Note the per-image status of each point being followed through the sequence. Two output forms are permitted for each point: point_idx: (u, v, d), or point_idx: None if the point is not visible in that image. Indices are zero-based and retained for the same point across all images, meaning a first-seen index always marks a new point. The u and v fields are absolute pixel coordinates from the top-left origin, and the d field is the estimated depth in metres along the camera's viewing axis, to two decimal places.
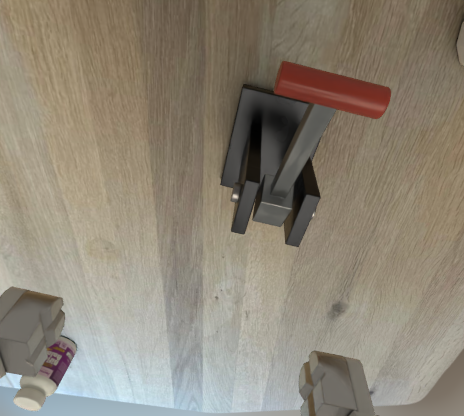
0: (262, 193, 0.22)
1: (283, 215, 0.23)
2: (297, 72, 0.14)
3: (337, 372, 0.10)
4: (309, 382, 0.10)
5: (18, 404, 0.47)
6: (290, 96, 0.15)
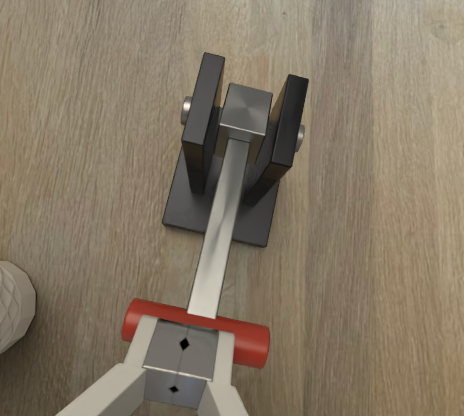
0: (261, 144, 0.15)
1: (229, 108, 0.15)
2: (243, 362, 0.11)
3: (204, 344, 0.09)
4: None
5: None
6: (249, 330, 0.11)
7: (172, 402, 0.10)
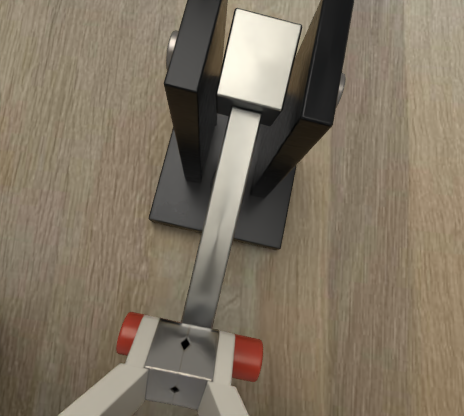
0: (277, 114, 0.11)
1: (232, 63, 0.10)
2: None
3: (204, 344, 0.09)
4: None
5: None
6: (241, 355, 0.11)
7: (173, 403, 0.10)
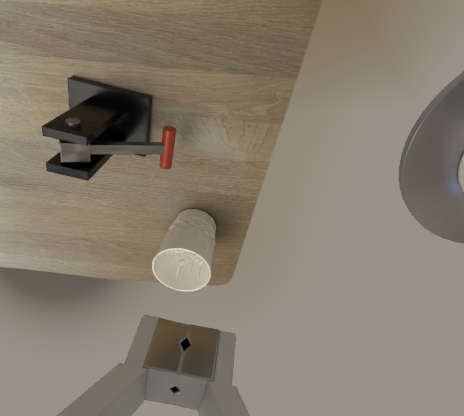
0: None
1: (79, 159, 0.34)
2: None
3: (205, 344, 0.09)
4: None
5: None
6: (167, 136, 0.37)
7: (173, 403, 0.10)
